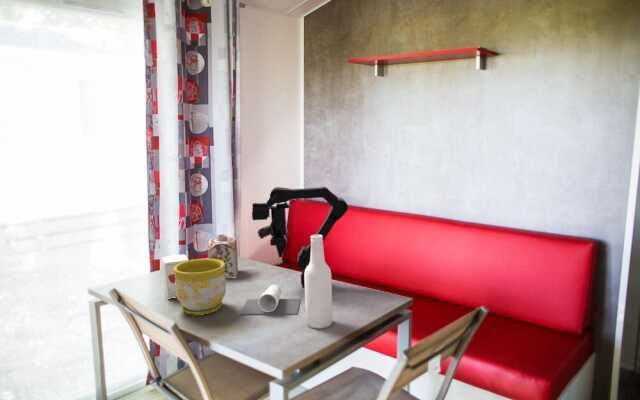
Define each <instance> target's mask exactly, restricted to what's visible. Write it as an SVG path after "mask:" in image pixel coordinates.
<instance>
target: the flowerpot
mask: <svg viewBox="0 0 640 400" xmlns="http://www.w3.org/2000/svg"><path fill="white" fill-rule="evenodd" d="M224 268H225V263H224V262H223V261H221V260H217V259H209V258H198V259H196V258H195V259H190V260H189V259H188V261H185V262H182V263H180V264H178V265H176V266H175V267H174V273H176V274H175V278H176V281H175V291H176V296H177V298H176V299H177V301H178V302H179V303H180V305H181V310H182V311H183V312H185V313H186V314H187V313H189V314H195V315H194V316H202V315H201V314H207V315H210V314H209V313H211V314H213V313H212V312H214V313H215V311H216V312H218V311H219V310H220V308H221V307H222V306H223V302H222V301H223V300H224V298H225V295H226V291H227V281H226V280H227V279H225V275H224V272H225V270H224ZM218 309H219V310H218ZM189 314H188V315H189Z"/></svg>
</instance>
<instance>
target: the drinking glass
mask: <svg viewBox="0 0 640 400" xmlns="http://www.w3.org/2000/svg"><path fill="white" fill-rule="evenodd" d="M281 295H282V289H281V287H280V286H278V285H277V284H271V285H270V286H268V287H267V289H266V290H264V291H263V293H262V294H261V295H260V296H259V298H258V299H259V302H258V303H259V307H260V308H261V310H263V311H265V312H272V311H273V310H275V308H276V307H277V305H278V303H279V299H281Z"/></svg>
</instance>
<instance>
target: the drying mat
mask: <svg viewBox="0 0 640 400" xmlns="http://www.w3.org/2000/svg"><path fill="white" fill-rule="evenodd" d="M259 299H260V298H255V299H254V298H253V299H251V298H250V299H249V298H248V299H247V300H246V301H245V303H244V305H243V307H242V309H241V311H240V313H239V315H240V316H257V315H258V316H263V315H264V316H265V315H266V316H269V315H272V316H273V315H275V316H276V315H278V316H279V315H280V316H281V315H283V316H284V315H290V316H291V315H298V312H299V307H300V304H301V303H300V301H301V298H280V299H279V303H278V305H277V307H276V308H275V310H273V311H272V312H265V311H263V310H261V308H260V307H259V303H258V302H259Z"/></svg>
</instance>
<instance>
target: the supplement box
mask: <svg viewBox="0 0 640 400" xmlns="http://www.w3.org/2000/svg"><path fill="white" fill-rule="evenodd" d="M187 257H188V256H186V254H184V253H183V254H178V255H177V254H176V255H170V256H169V255H168V256H163V257H162V258H161V260H162V272H163V273H162V274H163V287H164V288H163V290H164V294H166V295H165V296H167V297H166V299H167V298H172V297H177V296H176V291H175V281H176V278H175V274H176V273H174V267H175V266H176V265H178V264H180V263H182V262H185V261H189V259H188V258H187Z"/></svg>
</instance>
